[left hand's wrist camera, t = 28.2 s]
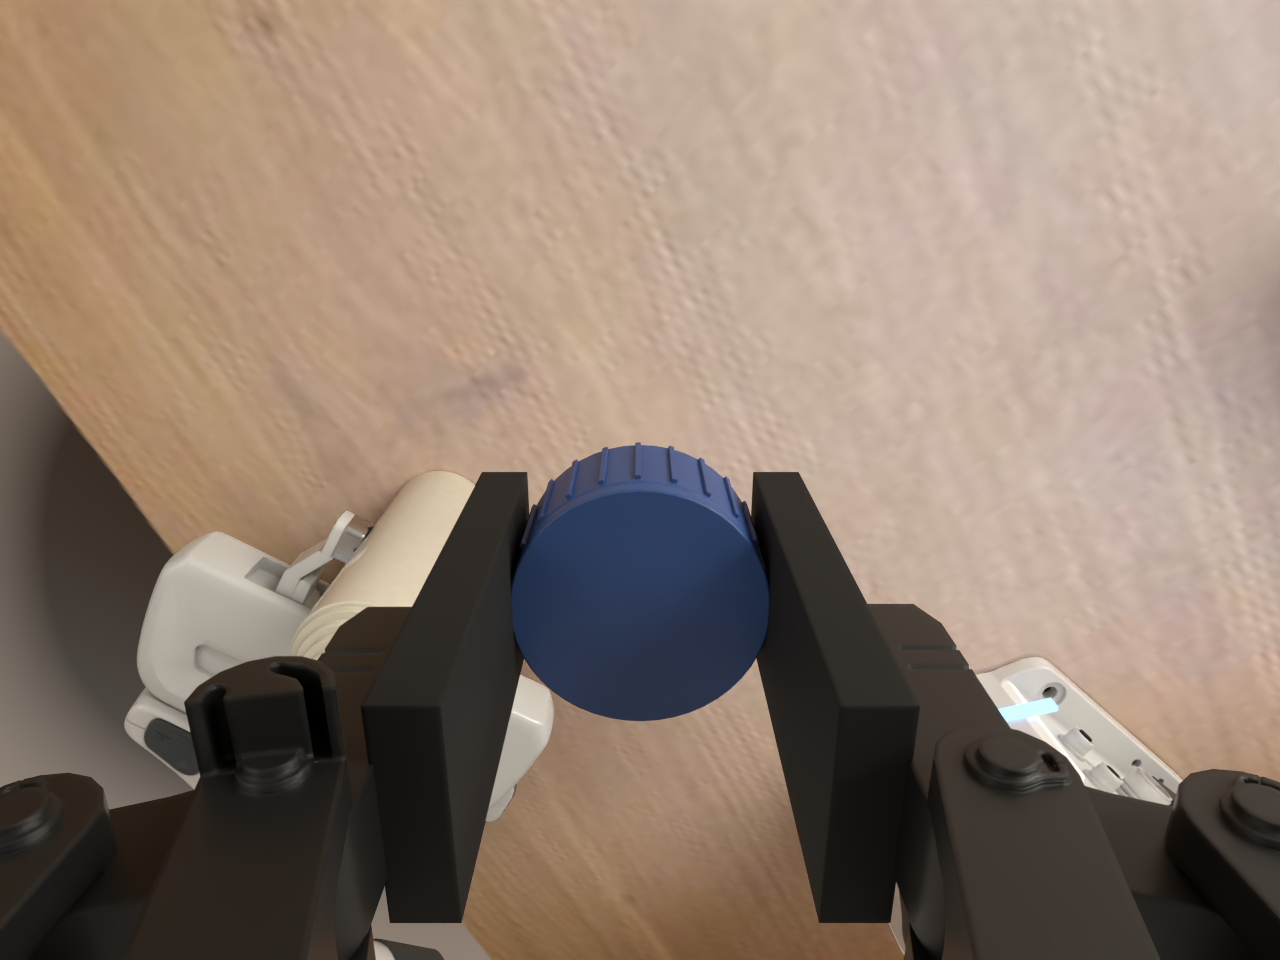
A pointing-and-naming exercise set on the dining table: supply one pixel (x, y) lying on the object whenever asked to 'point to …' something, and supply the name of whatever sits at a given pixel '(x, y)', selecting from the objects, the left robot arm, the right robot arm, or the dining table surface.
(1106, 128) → the dining table surface
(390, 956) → the right robot arm
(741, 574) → the cap
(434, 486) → the bottle
